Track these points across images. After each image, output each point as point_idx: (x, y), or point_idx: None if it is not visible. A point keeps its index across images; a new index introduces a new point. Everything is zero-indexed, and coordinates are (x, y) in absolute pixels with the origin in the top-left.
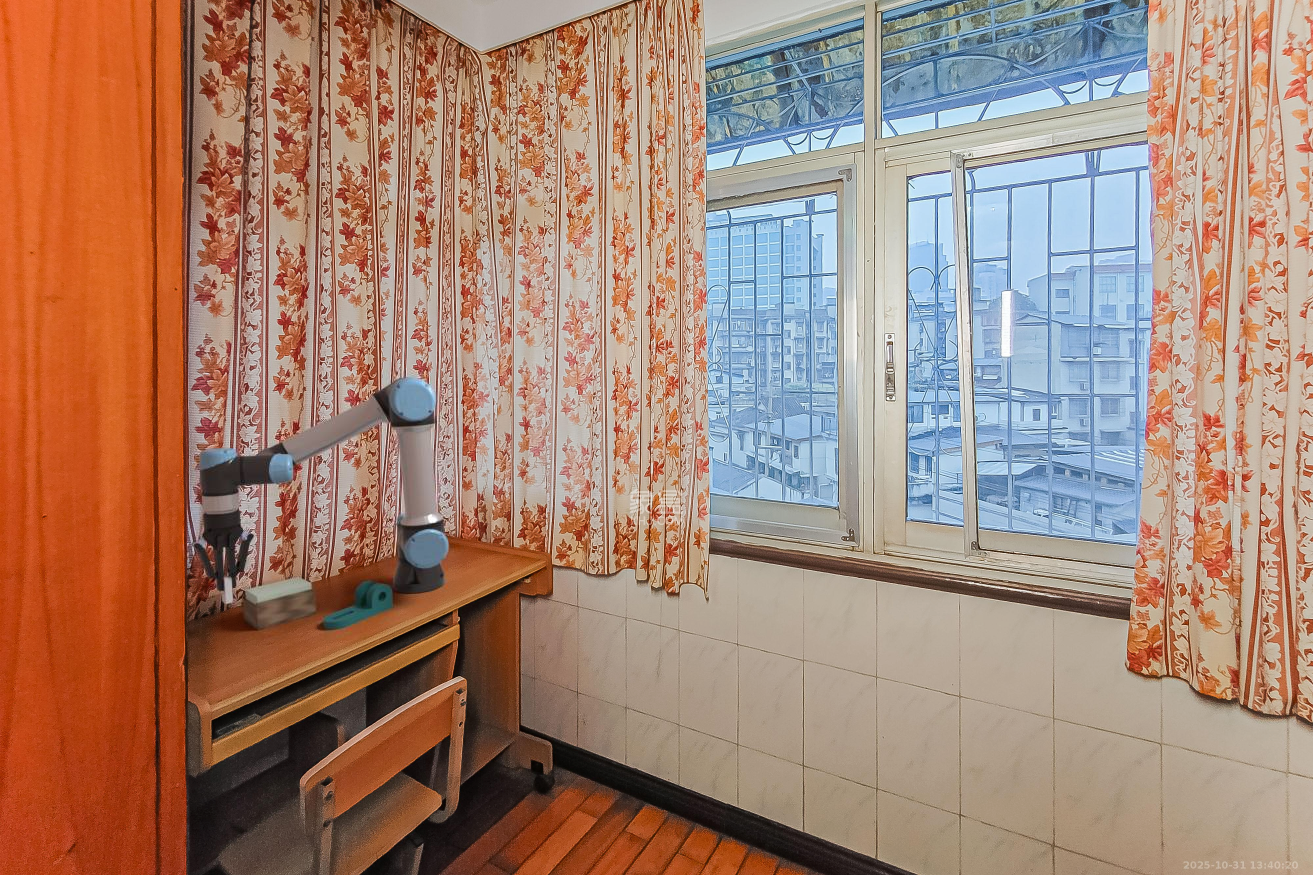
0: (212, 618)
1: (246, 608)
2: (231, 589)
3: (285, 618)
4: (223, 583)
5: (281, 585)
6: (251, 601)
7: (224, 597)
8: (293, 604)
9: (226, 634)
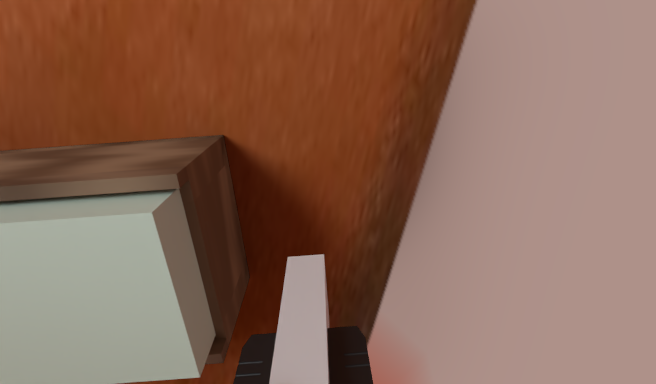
0: None
1: (229, 281)
2: (283, 316)
3: (103, 147)
4: (332, 378)
5: (2, 322)
6: (198, 273)
7: (326, 296)
8: (17, 167)
9: (328, 181)
